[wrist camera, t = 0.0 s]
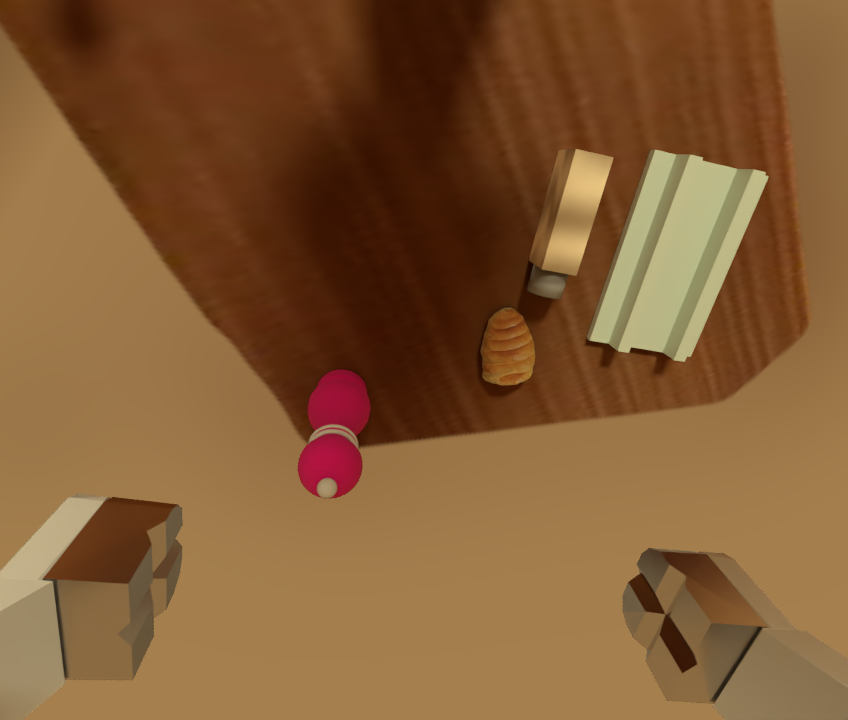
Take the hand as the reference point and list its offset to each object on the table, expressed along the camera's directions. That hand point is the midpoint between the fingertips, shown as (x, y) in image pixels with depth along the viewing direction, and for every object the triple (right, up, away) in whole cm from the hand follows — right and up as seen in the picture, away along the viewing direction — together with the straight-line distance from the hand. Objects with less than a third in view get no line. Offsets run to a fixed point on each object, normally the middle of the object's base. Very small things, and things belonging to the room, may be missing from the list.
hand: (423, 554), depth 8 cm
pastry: (+10, +5, +52) cm, 53 cm away
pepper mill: (-10, 0, +52) cm, 53 cm away
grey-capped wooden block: (+15, +19, +46) cm, 52 cm away
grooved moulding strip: (+29, +15, +49) cm, 59 cm away
